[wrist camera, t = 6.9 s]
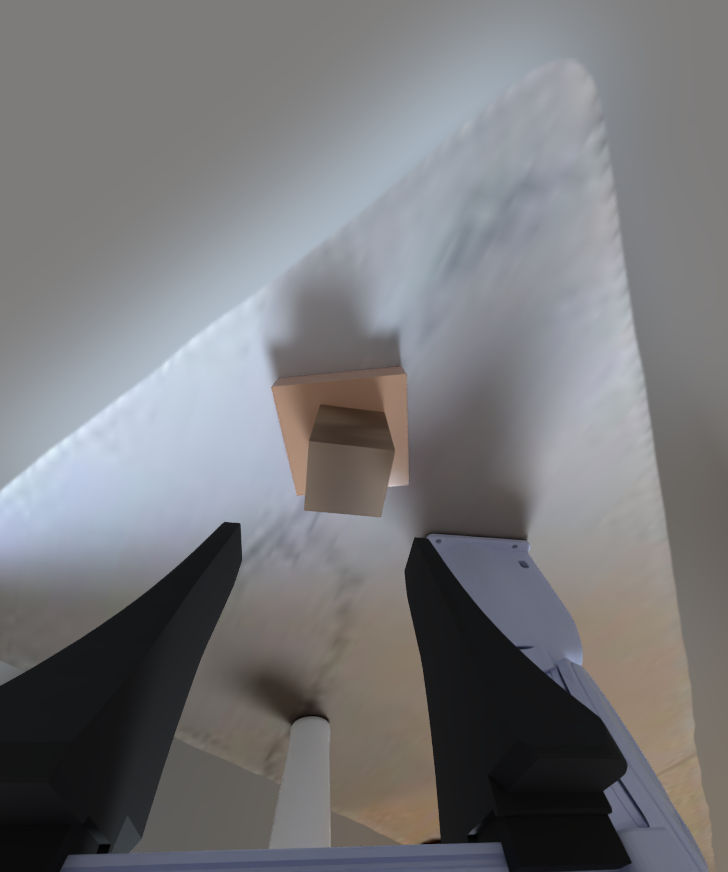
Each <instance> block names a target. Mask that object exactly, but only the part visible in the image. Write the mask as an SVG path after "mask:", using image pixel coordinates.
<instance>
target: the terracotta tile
mask: <svg viewBox="0 0 728 872" xmlns="http://www.w3.org/2000/svg"><path fill="white" fill-rule="evenodd" d="M271 388H272V392H273V396H274V401H275V405H276V409H277V413H278V417H279V422H280V426H281V430H282V434H283V439H284V443H285V447H286V451H287V455H288V460H289V464H290V468H291V472H292V476H293V481H294V485H295V489H296V493H297V496H300V495H305V490H306V476H307V461H308V446H309V439H310V436H311V433H312V429H313V426H314V423H315V420H316V417H317V413H318V410H319V407H320V404H321V405H329V406H337V407H345V408H354V409H362V410H370V411H378V412H385V415H386V419H387V422H388V426H389V430H390V433H391V437H392V441H393V444H394V448H395V454H394V459H393V464H392V468H391V473H390V478H389V482H388V487H395V486H406V485H409V461H408V416H407V374H406V372H405V371H404V369H403V368H402V367H401V366H397V367H387V368H377V369H366V370H356V371H346V372H336V373H326V374H315V375H305V376H295V377H285V378H279V379H278V380H277V381H276V382H275V383H274V384H273V385H272V387H271Z"/></svg>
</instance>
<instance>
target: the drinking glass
mask: <svg viewBox="0 0 728 872" xmlns="http://www.w3.org/2000/svg"><path fill="white" fill-rule="evenodd" d="M330 827H331V823H330V725H329V723H328V721H327V720H325V719H324V718H321V717H317V716H307V717H302V718H300V719H298V720H296V721H295V722H294V723H293V725H292V727H291V731H290V738H289V745H288V751H287V756H286V761H285V766H284V772H283V777H282V782H281V787H280V792H279V797H278V802H277V807H276V812H275V817H274V822H273V827H272V832H271V837H270V842H269V848H268V849H289V848H323V847H331V831H330V830H331V828H330Z"/></svg>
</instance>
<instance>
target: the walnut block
mask: <svg viewBox="0 0 728 872" xmlns="http://www.w3.org/2000/svg"><path fill="white" fill-rule="evenodd" d="M394 454H395V448H394V444H393V441H392V437H391V433H390V430H389V426H388V422H387V419H386V415H385V412H378V411H370V410H362V409H354V408H345V407H337V406H329V405H321V404H320V407H319V410H318V413H317V417H316V420H315V423H314V426H313V429H312V433H311V436H310V439H309V446H308V461H307V476H306V490H305V505H304V510H305V511H316V512H327V513H339V514H350V515H361V516H372V517H381V515H382V510H383V506H384V501H385V496H386V492H387V487H388V482H389V478H390V473H391V468H392V464H393V459H394Z"/></svg>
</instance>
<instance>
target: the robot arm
mask: <svg viewBox="0 0 728 872" xmlns="http://www.w3.org/2000/svg"><path fill="white" fill-rule="evenodd" d="M438 539H439V540H438ZM529 549H530V544H529V542H528V541H525V540H512V539H499V538H485V537H471V536H458V535H444V534H429V535H428V536H427V538H414V541H413V544H412V548H411V551H410V554H409V558H408V561H407V564H406V568H405V581H406V590H407V597H408V602H409V607H410V611H411V616H412V620H413V625H414V629H415V634H416V638H417V643H418V647H419V652H420V656H421V662H422V667H423V673H424V681H425V688H426V695H427V703H428V711H429V719H430V728H431V736H432V746H433V756H434V765H435V775H436V787H437V798H438V809H439V822H440V835H441V843H442V844H426V845H395V846H394V845H392V846H359V847H358V846H357V847H323V848H289V849H255V850H221V851H185V852H152V853H129V852H130V851H131V850H132V849H133V848H134V847H135V846H136V845H137V843H138V842H139V841H140V840H141V839H142V835H143V832H144V829H145V826H146V822H147V819H148V816H149V812H150V809H151V806H152V803H153V800H154V797H155V793H156V790H157V787H158V784H159V780H160V777H161V774H162V771H163V768H164V765H165V761H166V759H167V756H168V753H169V749H170V746H171V743H172V740H173V737H174V734H175V731H176V728H177V725H178V722H179V719H180V717H181V714H182V711H183V708H184V705H185V702H186V699H187V696H188V693H189V691H190V688H191V685H192V682H193V679H194V677H195V674H196V671H197V668H198V665H199V663H200V660H201V658H202V655H203V653H204V650H205V648H206V646H207V643H208V641H209V639H210V637H211V635H212V632H213V630H214V628H215V626H216V624H217V621H218V619H219V617H220V615H221V613H222V610H223V608H224V606H225V604H226V602H227V599H228V597H229V595H230V593H231V590H232V588H233V586H234V583H235V580H236V577H237V574H238V571H239V568H240V565H241V562H242V548H241V526H240V523H230V522H224V523H223V524H221V525H220V526H219V527H218V528H217V529H216V530H215V531H214V532H213V533H212V534H211V535H210V536H209V537H208V538H207V539H206V540H205V541H204V542H203V543H202V544H201V545H200V546H199V547H198V548H197V549H196V550H195V551H194V552H192V553H191V554H190V555H189V556H188V557H187V558H186V559H185V560H184V561H183V562H182V563H180V564H179V565H178V566H177V567H176V568H175V569H174V570H172V571H171V572H170V573H169V574H168V575H166V576H165V577H164V578H163V579H162V580H160V581H159V582H158V583H157V584H156V585H154V586H153V587H152V588H151V589H149V590H148V591H147V592H146V593H144V594H143V595H142V596H141V597H139V598H138V599H137V600H135V601H134V602H133V603H131V604H130V605H129V606H127V607H126V608H124V609H123V610H122V611H120V612H119V613H117V614H116V615H115V616H113V617H112V618H110V619H109V620H107V621H106V622H104V623H103V624H102V625H100V626H99V627H97V628H96V629H94V630H93V631H91V632H90V633H88V634H87V635H85V636H84V637H82V638H81V639H79V640H77V641H76V642H74V643H73V644H71V645H69V646H68V647H66V648H64V649H63V650H61V651H60V652H58V653H56V654H55V655H53V656H51V657H50V658H48V659H47V660H45V661H43V662H42V663H40V664H38V665H37V666H35V667H33V668H31V669H30V670H28V671H26V672H25V673H23V674H21V675H19V676H17V677H16V678H14V679H12V680H10V681H8V682H7V683H5V684H3V685H1V686H0V872H709V870H708V866H707V863H706V861H705V859H704V857H703V855H702V853H701V851H700V849H699V847H698V845H697V843H696V841H695V839H694V838H693V836H692V834H691V832H690V831H689V829H688V827H687V826H686V824H685V823H684V821H683V819H682V818H681V816H680V815H679V813H678V812H677V810H676V809H675V807H674V806H673V804H672V803H671V801H670V799H669V797H668V795H667V793H666V791H665V789H664V788H663V786H662V784H661V782H660V781H659V779H658V777H657V776H656V774H655V772H654V771H653V769H652V767H651V766H650V764H649V762H648V761H647V759H646V758H645V756H644V754H643V753H642V751H641V750H640V748H639V747H638V745H637V743H636V742H635V740H634V739H633V737H632V736H631V734H630V733H629V731H628V729H627V728H626V726H625V725H624V723H623V722H622V720H621V719H620V717H619V716H618V714H617V713H616V711H615V710H614V708H613V707H612V705H611V704H610V702H609V701H608V700H607V698H606V697H605V695H604V694H603V692H602V691H601V690H600V688H599V687H598V685H597V684H596V683H595V681H594V680H593V679H592V677H591V676H590V675H589V673H588V672H587V671H586V670H585V669H584V668H583V667H582V660H583V651H582V645H581V640H580V637H579V633H578V630H577V628H576V625H575V623H574V621H573V619H572V617H571V615H570V614H569V612H568V610H567V609H566V607H565V606H564V604H563V603H562V602H561V600H560V599H559V597H558V596H557V594H556V593H555V591H554V590H553V589H552V587H551V586H550V584H549V583H548V581H547V580H546V578H545V577H544V576H543V574H542V573H541V571H540V570H539V568H538V567H537V565H536V564H535V563H534V561H533V560H532V558H531V557H530V555H529V554H528V551H529Z"/></svg>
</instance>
